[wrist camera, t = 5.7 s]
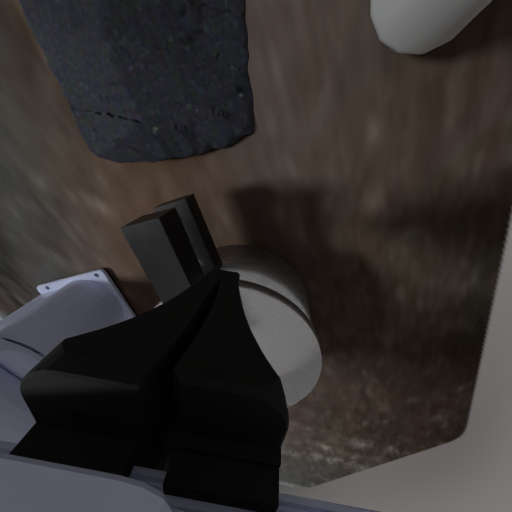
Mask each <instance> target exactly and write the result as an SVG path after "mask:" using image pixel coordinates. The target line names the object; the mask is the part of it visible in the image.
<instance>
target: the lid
mask: <svg viewBox="0 0 512 512" xmlns="http://www.w3.org/2000/svg"><path fill="white" fill-rule="evenodd" d="M121 230H122V232H123V233H124V235H125V237H126V239H127V241H128V242H129V244H130V246H131V248H132V250H133V251H134V253H135V255H136V257H137V259H138V260H139V262H140V264H141V266H142V268H143V269H144V271H145V273H146V275H147V277H148V278H149V280H150V282H151V284H152V286H153V287H154V289H155V291H156V293H157V295H158V296H159V298H160V301H159V302H158V303H157V304H156V306H155V307H154V308H156V307H158V306H160V305H161V304H163V303H165V302H167V301H169V300H171V299H172V298H174V297H175V296H177V295H179V294H180V293H182V292H183V291H185V290H186V289H188V288H189V287H190V286H192V285H193V284H194V283H196V282H197V281H198V280H200V279H201V278H202V277H204V276H205V275H204V273H203V270H202V268H201V266H200V263H199V261H198V259H197V256H196V254H195V252H194V249H193V247H192V245H191V242H190V240H189V238H188V235H187V233H186V231H185V228H184V226H183V224H182V221H181V219H180V217H179V214H178V212H177V210H176V207H174V208H170V209H167V210H163V211H159V212H155V213H152V214H148V215H144V216H141V217H139V218H138V219H136V220H134V221H132V222H130V223H129V224H127V225H125V226H123V227H121ZM239 291H240V297H241V302H242V306H243V309H244V313H245V316H246V319H247V321H248V324H249V326H250V329H251V331H252V333H253V335H254V337H255V339H256V341H257V343H258V345H259V347H260V348H261V350H262V352H263V354H264V355H265V357H266V358H267V360H268V362H269V363H270V364H271V366H272V367H273V369H274V370H275V372H276V373H277V374H278V376H279V377H280V379H281V382H282V386H283V389H284V393H285V398H286V402H287V408H288V407H290V406H292V405H294V404H296V403H297V402H299V401H300V400H302V399H303V398H304V397H305V396H306V395H308V394H309V393H310V392H311V390H312V389H313V388H314V386H315V385H316V383H317V381H318V379H319V376H320V373H321V367H322V358H321V350H320V345H319V340H318V337H317V333H316V331H315V329H314V327H313V325H312V323H311V321H310V320H309V319H308V317H307V316H306V314H305V313H304V312H303V311H302V310H301V309H300V308H299V307H298V306H297V305H295V304H294V303H293V302H292V301H290V300H289V299H288V298H286V297H285V296H283V295H281V294H280V293H278V292H276V291H274V290H272V289H270V288H267V287H265V286H262V285H259V284H256V283H253V282H249V281H244V280H240V279H239ZM154 308H153V309H154Z"/></svg>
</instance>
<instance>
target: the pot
mask: <svg viewBox="0 0 512 512" xmlns="http://www.w3.org/2000/svg"><path fill="white" fill-rule="evenodd" d="M174 207H176V210H177V212H178V214H179V217H180V219H181V221H182V224H183V226H184V228H185V231H186V233H187V235H188V238H189V240H190V242H191V245H192V247H193V249H194V252H195V254H196V256H197V259H198V261H199V263H200V266H201V268H202V270H203V273H204V275H206V274H207V273H209V272H210V271H211V270H212V269H214V268H215V269H221V270H226V271H232V272H238V273H239V274H240V280H244V281H249V282H253V283H256V284H259V285H262V286H265V287H267V288H270V289H272V290H274V291H276V292H278V293H280V294H281V295H283V296H285V297H286V298H288V299H289V300H290V301H292V302H293V303H294V304H295V305H297V306H298V307H299V308H300V309H301V310H302V311H303V312H304V313H305V314H306V316H307V317H308V319H309V320H310V321H311V316H310V310H309V304H308V298H307V292H306V289H305V286H304V284H303V282H302V280H301V278H300V276H299V275H298V274H297V272H296V271H295V270H294V269H293V268H292V267H291V266H290V265H289V264H288V263H287V262H286V261H284V260H283V259H282V258H280V257H278V256H277V255H275V254H273V253H271V252H269V251H266V250H263V249H260V248H257V247H252V246H245V245H230V246H223V247H219V248H216V247H215V244H214V242H213V239H212V237H211V235H210V232H209V230H208V227H207V225H206V223H205V220H204V218H203V215H202V213H201V211H200V208H199V206H198V203H197V201H196V199H195V196H194V194H190V195H187V196H184V197H181V198H178V199H174V200H171V201H168V202H165V203H163V204H161V205H159V206H157V207H155V208H154V211H155V212H159V211H163V210H167V209H170V208H174ZM311 323H312V322H311Z"/></svg>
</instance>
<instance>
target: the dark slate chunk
mask: <svg viewBox="0 0 512 512" xmlns="http://www.w3.org/2000/svg"><path fill="white" fill-rule="evenodd" d="M19 1H20V3H21V6H22V9H23V12H24V15H25V17H26V20H27V22H28V24H29V26H30V28H31V30H32V32H33V34H34V36H35V38H36V40H37V41H38V43H39V44H40V46H41V48H42V50H43V51H44V54H45V56H46V58H47V61H48V65H49V67H50V69H51V71H52V72H53V74H54V76H55V77H56V78H57V80H58V82H59V84H60V86H61V88H62V90H63V92H64V95H65V97H66V99H67V101H68V103H69V106H70V110H71V112H72V115H73V117H74V119H75V122H76V124H77V127H78V129H79V131H80V133H81V135H82V136H83V138H84V139H85V141H86V144H87V146H88V148H89V150H90V151H91V152H92V153H93V154H95V155H96V156H98V157H101V158H104V159H108V160H111V161H114V162H119V163H125V162H142V161H148V162H155V161H163V160H165V159H170V158H174V157H179V158H181V157H189V156H193V155H196V154H201V153H203V152H207V151H209V150H211V149H212V148H215V149H223V148H226V147H227V146H229V145H231V144H234V143H236V142H237V141H238V140H239V139H240V137H241V136H243V135H245V134H251V133H252V130H253V117H252V109H253V95H252V89H251V85H250V78H249V77H248V73H247V67H248V59H249V53H248V50H247V42H248V34H247V29H246V26H245V1H244V0H19Z"/></svg>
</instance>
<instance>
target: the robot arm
mask: <svg viewBox="0 0 512 512" xmlns="http://www.w3.org/2000/svg"><path fill="white" fill-rule="evenodd" d="M239 279H240V274H239V273H238V272H232V271H226V270H221V269H215V268H214V269H212V270H211V271H210V272H209V273H207V274H206V275H205V276H204V277H202V278H201V279H200V280H198V281H197V282H196V283H194V284H193V285H192V286H190V287H189V288H188V289H186V290H185V291H183V292H182V293H180V294H179V295H177V296H175V297H174V298H172V299H171V300H169V301H167V302H165V303H163V304H161V305H160V306H158V307H156V308H154V309H151V310H149V311H147V312H145V313H142V314H140V315H138V316H136V315H135V313H134V312H133V311H132V309H131V308H130V306H129V305H128V303H127V302H126V300H125V299H124V297H123V296H122V294H121V293H120V291H119V290H118V288H117V287H116V285H115V284H114V282H113V281H112V279H111V278H110V276H109V275H108V273H107V272H106V271H105V270H104V269H98V270H94V271H90V272H86V273H82V274H78V275H75V276H71V277H67V278H63V279H59V280H55V281H52V282H48V283H44V284H40V285H39V286H37V290H38V291H39V292H40V293H41V295H39V296H38V297H36V298H35V299H33V300H32V301H30V302H29V303H27V304H26V305H24V306H22V307H21V308H19V309H18V310H16V311H15V312H13V313H12V314H10V315H9V316H7V317H6V318H4V319H2V320H1V321H0V512H378V511H373V510H367V509H362V508H357V507H352V506H346V505H341V504H336V503H331V502H325V501H320V500H314V499H309V498H304V497H298V496H293V495H288V494H283V493H279V468H280V465H281V445H282V443H283V440H284V438H285V435H286V433H287V430H288V425H289V416H288V408H287V402H286V398H285V393H284V389H283V386H282V382H281V379H280V377H279V376H278V374H277V373H276V372H275V370H274V369H273V367H272V366H271V364H270V363H269V362H268V360H267V358H266V357H265V355H264V354H263V352H262V350H261V348H260V347H259V345H258V343H257V341H256V339H255V337H254V335H253V333H252V331H251V329H250V326H249V324H248V321H247V319H246V316H245V313H244V309H243V306H242V302H241V297H240V291H239Z"/></svg>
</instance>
